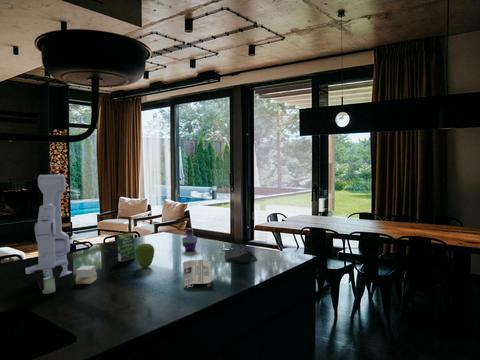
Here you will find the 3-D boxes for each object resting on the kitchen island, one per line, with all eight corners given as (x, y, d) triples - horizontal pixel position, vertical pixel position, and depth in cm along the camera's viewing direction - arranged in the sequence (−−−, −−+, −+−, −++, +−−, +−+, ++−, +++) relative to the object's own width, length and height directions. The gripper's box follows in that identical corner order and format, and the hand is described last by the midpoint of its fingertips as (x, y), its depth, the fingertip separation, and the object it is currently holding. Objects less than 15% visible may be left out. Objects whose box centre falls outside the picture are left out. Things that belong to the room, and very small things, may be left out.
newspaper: (183, 265, 170) (183, 258, 170) (209, 263, 172) (209, 256, 172) (183, 292, 135) (183, 282, 135) (217, 289, 137) (217, 280, 137)
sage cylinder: (39, 292, 137) (38, 279, 137) (49, 289, 141) (48, 276, 141) (48, 294, 135) (47, 281, 135) (58, 290, 140) (57, 277, 139)
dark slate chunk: (252, 251, 193) (252, 242, 193) (257, 262, 171) (257, 252, 171) (223, 252, 192) (223, 243, 192) (225, 264, 170) (224, 254, 170)
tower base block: (76, 284, 147) (75, 277, 146) (82, 279, 153) (82, 272, 152) (90, 284, 146) (90, 276, 146) (97, 279, 152) (96, 272, 152)
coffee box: (120, 262, 176) (119, 235, 175) (117, 261, 178) (116, 235, 177) (135, 259, 182) (134, 233, 181) (132, 258, 184) (131, 232, 183)
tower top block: (76, 277, 146) (76, 269, 146) (82, 273, 152) (82, 265, 152) (90, 276, 146) (90, 269, 146) (95, 272, 152) (95, 265, 152)
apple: (149, 270, 161) (148, 245, 161) (132, 270, 163) (131, 244, 162) (158, 265, 170) (157, 240, 169) (141, 264, 172) (140, 240, 171)
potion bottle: (178, 250, 197) (178, 228, 196) (192, 247, 203) (191, 226, 202) (187, 253, 190) (187, 230, 190) (201, 250, 196) (200, 228, 196)
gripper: (29, 258, 129) (31, 295, 130) (70, 250, 140) (72, 284, 141) (22, 255, 134) (24, 291, 135) (63, 247, 145) (64, 281, 146)
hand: (48, 287), depth 138 cm, fingers closed on sage cylinder, 4 cm apart
